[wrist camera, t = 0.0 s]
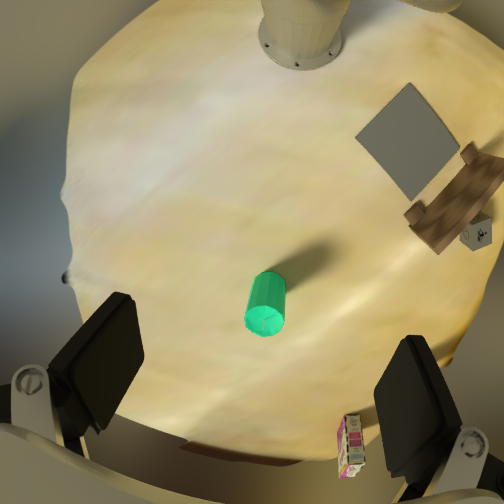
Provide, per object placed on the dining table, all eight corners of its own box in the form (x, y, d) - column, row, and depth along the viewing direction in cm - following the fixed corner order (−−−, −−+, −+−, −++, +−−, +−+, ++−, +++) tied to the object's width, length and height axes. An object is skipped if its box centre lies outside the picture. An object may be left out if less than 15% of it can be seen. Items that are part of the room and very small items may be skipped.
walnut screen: (419, 240, 43) (444, 265, 34) (401, 216, 42) (426, 238, 33) (484, 167, 36) (518, 178, 26) (469, 142, 34) (503, 148, 25)
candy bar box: (343, 414, 64) (347, 464, 49) (360, 413, 63) (367, 462, 48) (335, 433, 68) (338, 478, 53) (351, 432, 68) (355, 477, 53)
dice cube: (457, 216, 40) (471, 225, 36) (476, 209, 39) (491, 217, 34) (459, 240, 42) (472, 251, 37) (478, 233, 41) (491, 243, 36)
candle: (265, 265, 49) (257, 304, 38) (292, 283, 49) (292, 325, 39) (245, 288, 51) (234, 330, 40) (272, 305, 52) (267, 349, 41)
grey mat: (354, 137, 38) (355, 137, 38) (408, 83, 33) (409, 83, 33) (409, 200, 41) (411, 201, 40) (458, 147, 35) (459, 148, 35)
